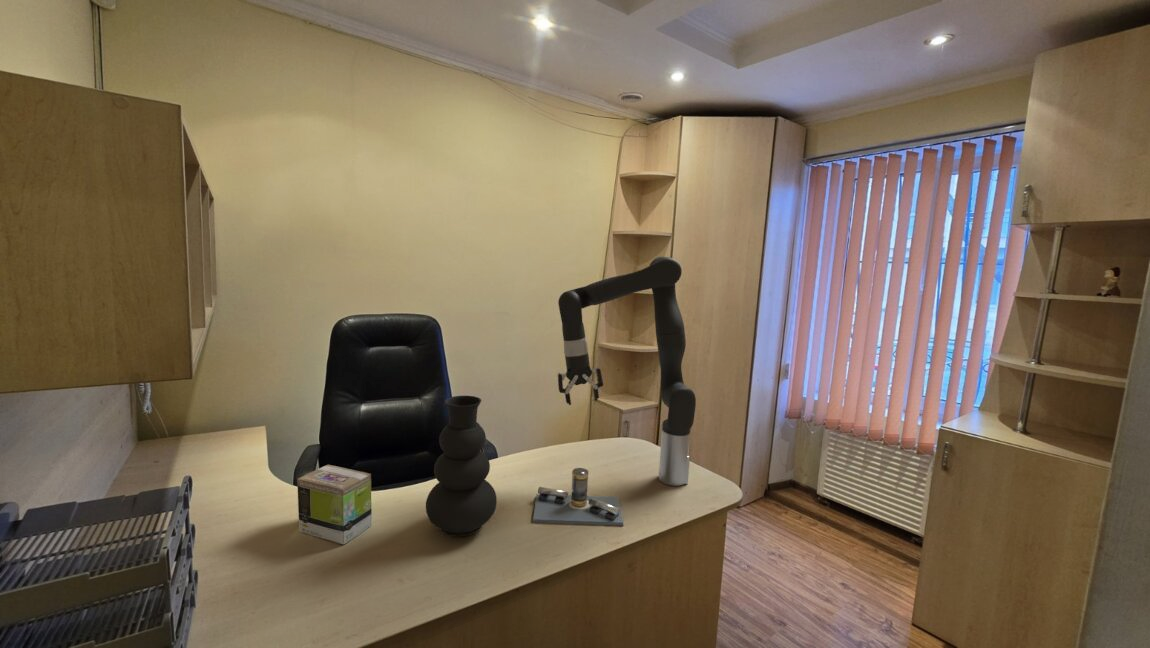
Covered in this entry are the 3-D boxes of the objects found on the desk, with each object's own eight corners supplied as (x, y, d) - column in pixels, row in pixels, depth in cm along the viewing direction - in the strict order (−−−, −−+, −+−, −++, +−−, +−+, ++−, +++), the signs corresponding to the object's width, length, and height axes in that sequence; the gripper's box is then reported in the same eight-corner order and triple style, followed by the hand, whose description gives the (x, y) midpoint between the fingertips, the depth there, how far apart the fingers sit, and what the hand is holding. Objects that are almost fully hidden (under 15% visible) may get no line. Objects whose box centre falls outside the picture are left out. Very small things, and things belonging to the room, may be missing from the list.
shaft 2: (586, 514, 135) (587, 500, 134) (593, 508, 138) (593, 495, 137) (613, 525, 130) (614, 510, 129) (619, 519, 133) (620, 505, 132)
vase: (423, 513, 131) (423, 392, 126) (489, 504, 138) (491, 389, 133) (428, 553, 114) (428, 414, 109) (502, 540, 121) (506, 409, 116)
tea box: (373, 525, 125) (372, 472, 123) (343, 546, 115) (342, 490, 113) (329, 513, 129) (328, 462, 127) (297, 532, 120) (295, 478, 118)
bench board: (618, 500, 143) (618, 496, 143) (623, 525, 130) (623, 521, 129) (536, 497, 143) (536, 493, 143) (533, 522, 129) (533, 518, 129)
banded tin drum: (584, 498, 141) (585, 467, 140) (588, 506, 137) (590, 474, 135) (568, 500, 140) (570, 468, 138) (573, 508, 135) (574, 475, 134)
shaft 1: (568, 502, 141) (569, 489, 140) (565, 508, 137) (566, 494, 137) (540, 497, 143) (540, 484, 142) (536, 503, 140) (537, 489, 139)
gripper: (555, 358, 145) (562, 408, 146) (600, 351, 147) (606, 401, 148) (553, 354, 152) (560, 403, 154) (596, 348, 154) (602, 396, 155)
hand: (582, 402), depth 151 cm, fingers open, 8 cm apart
